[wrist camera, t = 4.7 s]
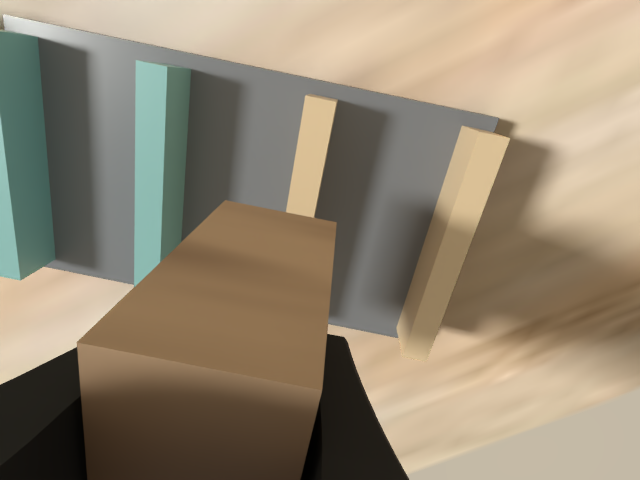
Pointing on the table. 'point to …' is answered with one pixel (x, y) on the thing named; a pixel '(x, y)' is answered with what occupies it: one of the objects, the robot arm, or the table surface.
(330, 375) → the robot arm
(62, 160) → the slot comb
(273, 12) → the table surface
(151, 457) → the walnut plug
